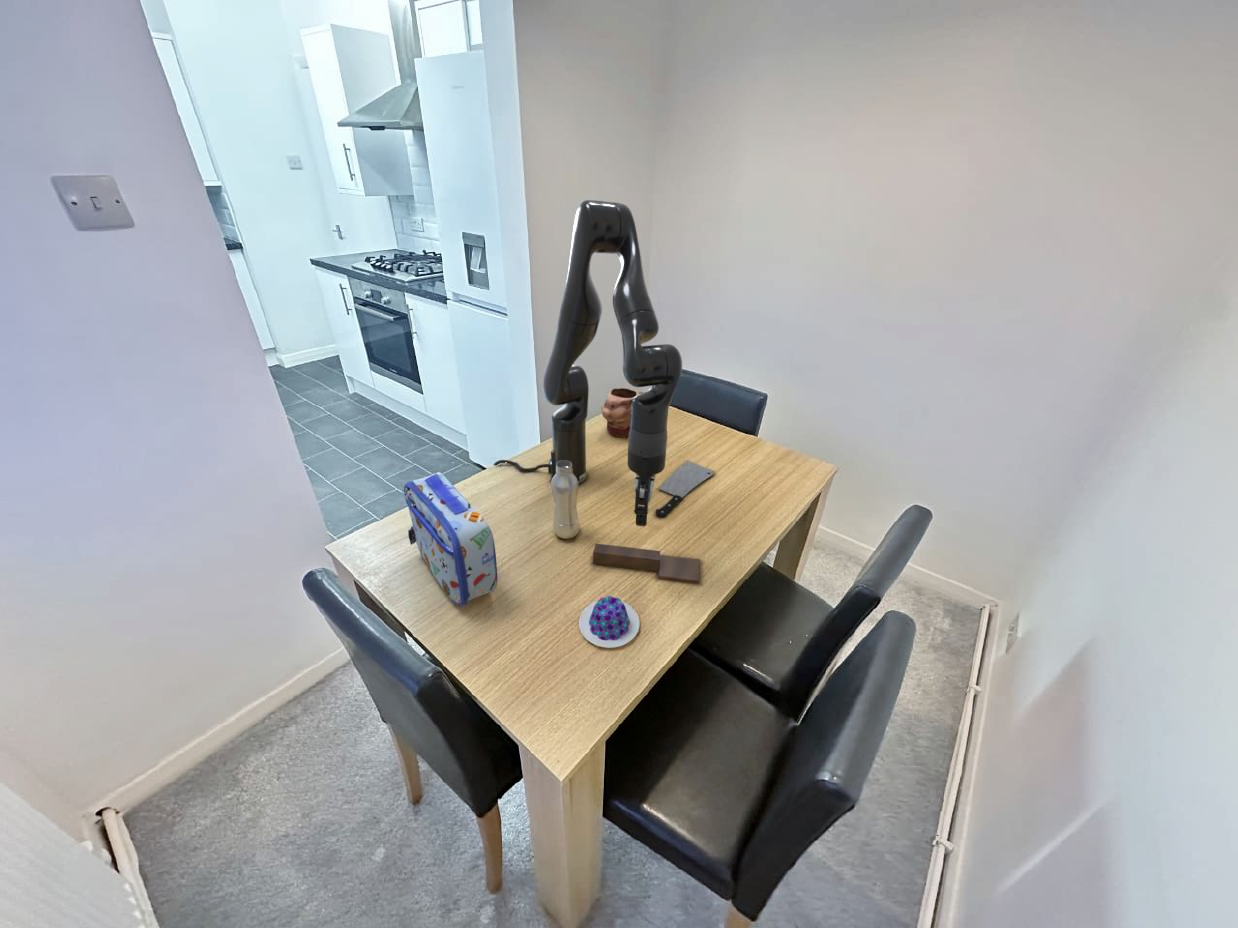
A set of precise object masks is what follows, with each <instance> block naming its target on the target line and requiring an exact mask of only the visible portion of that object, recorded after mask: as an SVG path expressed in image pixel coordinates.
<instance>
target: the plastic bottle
mask: <svg viewBox="0 0 1238 928" xmlns="http://www.w3.org/2000/svg"><path fill="white" fill-rule="evenodd" d="M572 471H573V469H572V463H571V462H570V461H567V460H561V461H558V462H557V463H556V474H555V475H554V477H553V478H552V477H551V481H550V488H551V493H552V497H553V506H554V512H553V515H554V517H553V519H552V520H553V521H552V522H553V523H552V529H553V532H554V534H555V535H556V536H557V537H558V538H561V539H564V540H565V539H566V540H569V539H572V538H575V536H576V535H577V534H578V533H579V531H580V525H581V524H580V519H579V516H578V508H577V502H578V490H579V484H578V480H577V478H576V477H575V475H574V474H573V473H572Z"/></svg>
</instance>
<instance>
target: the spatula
mask: <svg viewBox="0 0 1238 928" xmlns="http://www.w3.org/2000/svg"><path fill="white" fill-rule="evenodd" d="M592 564H593V565H597V566H598V565H599V566H606V567H607V566H608V567H616V568H623V569H624V568H625V569H631V570H638V571H639V570H640V571H647V572H654V573H657V579H661V580H667V581H668V580H669V581H678V582H686V583H692V584H699V583H700V559H699V558H690V557H682V556H675V555H668V554H667V555H665V554H661V550H653V549H645V548H638V547H628V546H620V545H612V544H603V543H595V544H594V548H593V551H592Z"/></svg>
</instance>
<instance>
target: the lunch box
mask: <svg viewBox="0 0 1238 928" xmlns="http://www.w3.org/2000/svg"><path fill="white" fill-rule="evenodd" d="M403 494H404V498H405V502H406V505H407V508H408V511H409V514H410V518H411V523H412V525H411V527H410V528H409V530H408V531H407V532H408V533H407V534H408V540H409V544H410V545H411V546H412V545H414V544H416V546H417V549H418V551H419V553H420V555H421V557H422V559H423V561H424V562H425V564H426V565H427V566H428V568H429V570H430V572H431V573H432V576H433V577H434V578H435V580H436V581H437V583H438V585H439V586H440V587H441V589H442V590H443V591H444V593H445V595H446V596H447V597H448V599H449V600H450V601H451V602H452V603H453V604H455V605H456V606H458V607H465V606H467V605H468V602H469V601H471V600H474V599H476V598H479V597H481V596H484V595H487V594H489V593H491V592H494V591H495V590H496V589H497V586H498V564H497V554H496V546H495V545H496V544H495V540H494V535H493V532H492V530H491V528H490V526H489V524H488V522H487V521H486V519H485V518H484V517H483V515H481V513H480V512H478V510H476V508H474V507H473V506H472V505H471V503H470V502H469V501H468V500H467V499H466V497H464V496H463V494H461V492H460V491H459V490H458V489H457V488H456V486H454V485H453V484H452V483H451V482H450V480H449V479H447V477H446V476H445V475H444V474H443V473H442V472H441V471H437V472H435V473H433V474H430V475H427V476H425V477H421V478H418V479H413V480H412V481H407V482H405V484H404V487H403Z"/></svg>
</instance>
